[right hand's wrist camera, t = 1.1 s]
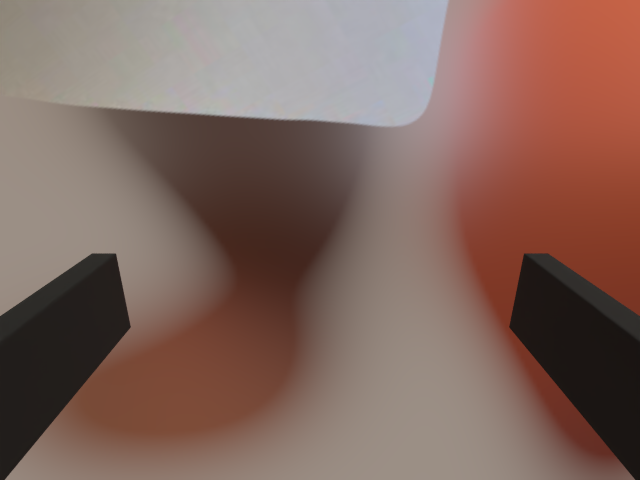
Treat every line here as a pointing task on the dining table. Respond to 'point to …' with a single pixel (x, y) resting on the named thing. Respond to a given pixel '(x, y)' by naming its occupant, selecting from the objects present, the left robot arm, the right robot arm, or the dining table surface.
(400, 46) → the dining table surface
